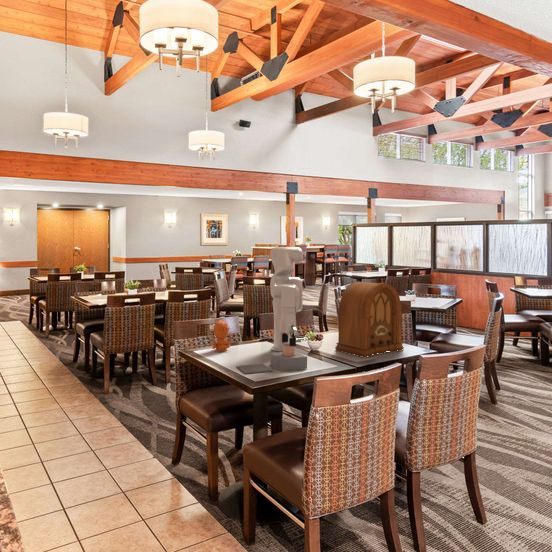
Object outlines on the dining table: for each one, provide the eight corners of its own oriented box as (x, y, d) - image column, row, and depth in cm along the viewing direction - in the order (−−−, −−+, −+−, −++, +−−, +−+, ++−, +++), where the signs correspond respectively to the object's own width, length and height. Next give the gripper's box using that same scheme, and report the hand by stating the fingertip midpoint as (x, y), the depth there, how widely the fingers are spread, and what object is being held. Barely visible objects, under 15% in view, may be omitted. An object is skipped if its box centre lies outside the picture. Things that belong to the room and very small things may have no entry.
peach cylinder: (282, 362, 242) (282, 342, 241) (291, 361, 244) (291, 341, 243) (285, 364, 238) (286, 344, 237) (294, 363, 239) (294, 343, 239)
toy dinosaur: (227, 347, 285) (227, 317, 283) (233, 351, 275) (233, 320, 274) (209, 349, 280) (208, 319, 279) (215, 353, 270) (214, 321, 269)
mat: (236, 367, 239) (236, 366, 239) (262, 364, 244) (262, 363, 244) (244, 374, 226) (244, 373, 226) (272, 371, 231) (272, 370, 231)
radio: (364, 358, 260) (365, 284, 257) (335, 350, 279) (335, 282, 276) (403, 350, 279) (405, 282, 277) (373, 343, 298) (374, 279, 296)
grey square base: (270, 364, 245) (270, 353, 244) (295, 362, 250) (295, 350, 249) (280, 371, 232) (280, 359, 231) (307, 368, 237) (307, 356, 236)
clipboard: (283, 332, 331) (312, 338, 308) (283, 334, 332) (312, 341, 308) (260, 335, 320) (288, 342, 296) (260, 337, 320) (288, 345, 296)
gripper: (275, 308, 245) (275, 341, 246) (288, 312, 229) (288, 347, 230) (288, 308, 248) (288, 341, 249) (302, 311, 232) (302, 346, 233)
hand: (288, 344), depth 240 cm, fingers open, 9 cm apart
